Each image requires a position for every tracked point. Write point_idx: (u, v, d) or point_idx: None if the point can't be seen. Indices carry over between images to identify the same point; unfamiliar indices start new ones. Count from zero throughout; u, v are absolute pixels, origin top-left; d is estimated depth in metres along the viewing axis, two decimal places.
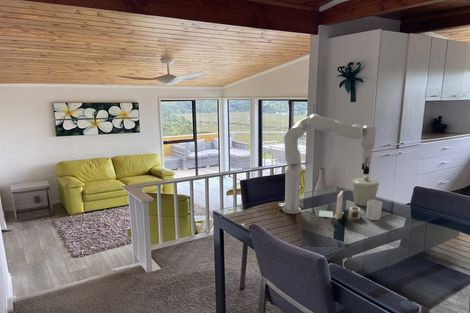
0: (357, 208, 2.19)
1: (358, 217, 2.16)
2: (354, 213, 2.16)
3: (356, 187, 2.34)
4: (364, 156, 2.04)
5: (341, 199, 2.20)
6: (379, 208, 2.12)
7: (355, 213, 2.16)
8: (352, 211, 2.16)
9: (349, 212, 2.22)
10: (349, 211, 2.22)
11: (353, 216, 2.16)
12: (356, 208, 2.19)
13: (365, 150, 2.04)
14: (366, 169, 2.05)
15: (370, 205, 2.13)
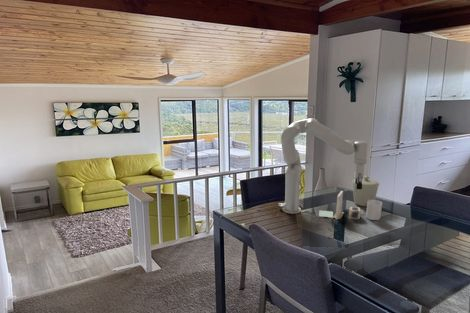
0: (357, 208, 2.19)
1: (358, 217, 2.16)
2: (354, 213, 2.16)
3: None
4: (357, 171, 2.07)
5: (341, 199, 2.20)
6: (379, 208, 2.12)
7: (355, 213, 2.16)
8: (352, 211, 2.16)
9: (349, 212, 2.22)
10: (349, 211, 2.22)
11: (353, 216, 2.16)
12: (356, 208, 2.19)
13: (357, 165, 2.06)
14: (359, 184, 2.07)
15: (370, 205, 2.13)
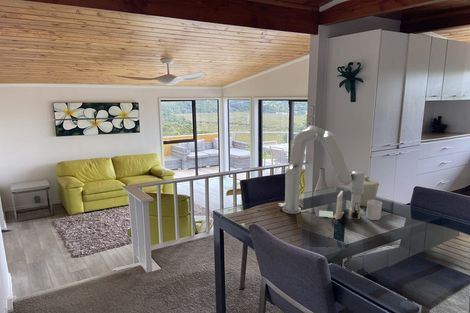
0: None
1: (358, 217, 2.16)
2: None
3: None
4: (353, 201, 2.12)
5: (341, 199, 2.20)
6: (379, 208, 2.12)
7: None
8: (352, 211, 2.16)
9: (349, 212, 2.22)
10: (349, 212, 2.22)
11: None
12: None
13: (354, 195, 2.11)
14: (355, 214, 2.14)
15: (370, 205, 2.13)
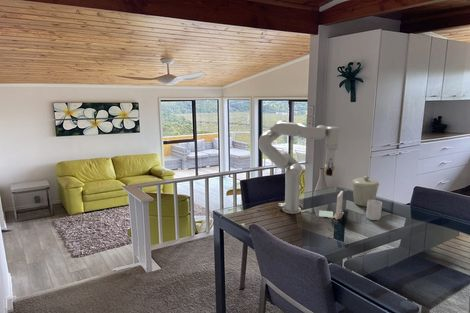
0: (332, 165, 2.15)
1: (333, 174, 2.12)
2: None
3: (356, 187, 2.34)
4: (327, 157, 2.08)
5: (341, 199, 2.20)
6: (379, 208, 2.12)
7: None
8: (327, 167, 2.12)
9: None
10: None
11: None
12: None
13: (328, 151, 2.08)
14: (329, 170, 2.11)
15: (370, 205, 2.13)
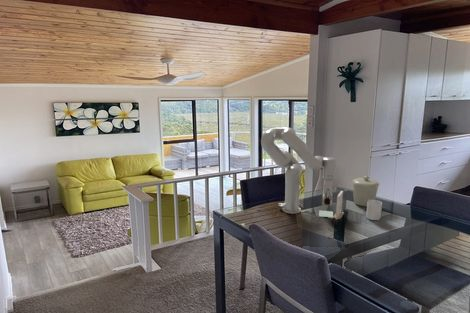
0: None
1: (330, 203, 2.17)
2: None
3: (356, 187, 2.34)
4: (325, 187, 2.14)
5: (341, 199, 2.20)
6: (379, 208, 2.12)
7: None
8: (324, 197, 2.17)
9: None
10: None
11: None
12: None
13: (325, 181, 2.13)
14: (327, 200, 2.16)
15: (370, 205, 2.13)
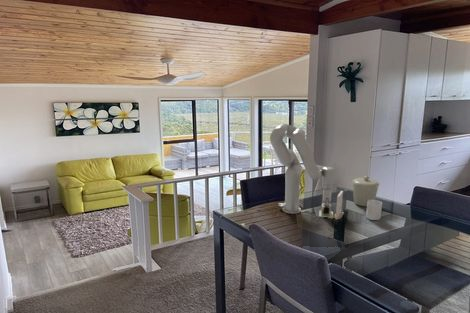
0: (329, 205, 2.22)
1: (329, 213, 2.19)
2: None
3: (356, 187, 2.34)
4: (324, 196, 2.15)
5: (341, 199, 2.20)
6: (379, 208, 2.12)
7: None
8: (323, 207, 2.19)
9: None
10: None
11: None
12: None
13: (325, 191, 2.15)
14: (326, 208, 2.16)
15: (370, 205, 2.13)
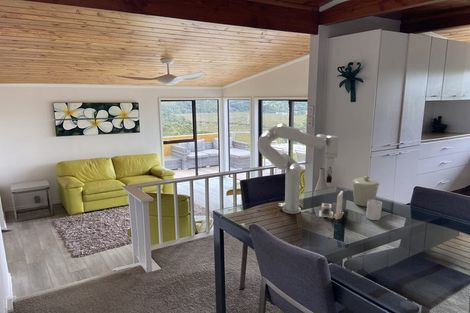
0: (329, 205, 2.22)
1: (329, 213, 2.19)
2: (325, 209, 2.19)
3: (356, 187, 2.34)
4: (327, 165, 2.12)
5: (341, 199, 2.20)
6: (379, 208, 2.12)
7: (326, 209, 2.19)
8: (323, 207, 2.19)
9: None
10: None
11: (325, 212, 2.20)
12: (327, 204, 2.23)
13: (328, 159, 2.11)
14: (329, 178, 2.13)
15: (370, 205, 2.13)
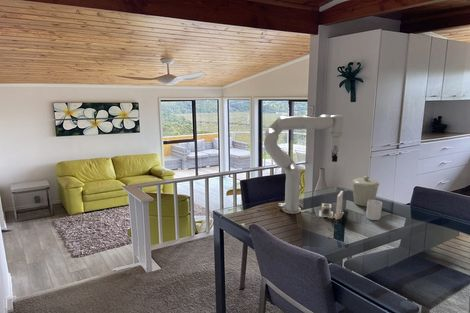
0: (329, 205, 2.22)
1: (329, 213, 2.19)
2: (325, 209, 2.19)
3: (356, 187, 2.34)
4: (332, 144, 2.13)
5: (341, 199, 2.20)
6: (379, 208, 2.12)
7: (326, 209, 2.19)
8: (323, 207, 2.19)
9: None
10: None
11: (325, 212, 2.20)
12: (327, 204, 2.23)
13: (333, 138, 2.13)
14: (334, 157, 2.14)
15: (370, 205, 2.13)
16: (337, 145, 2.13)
